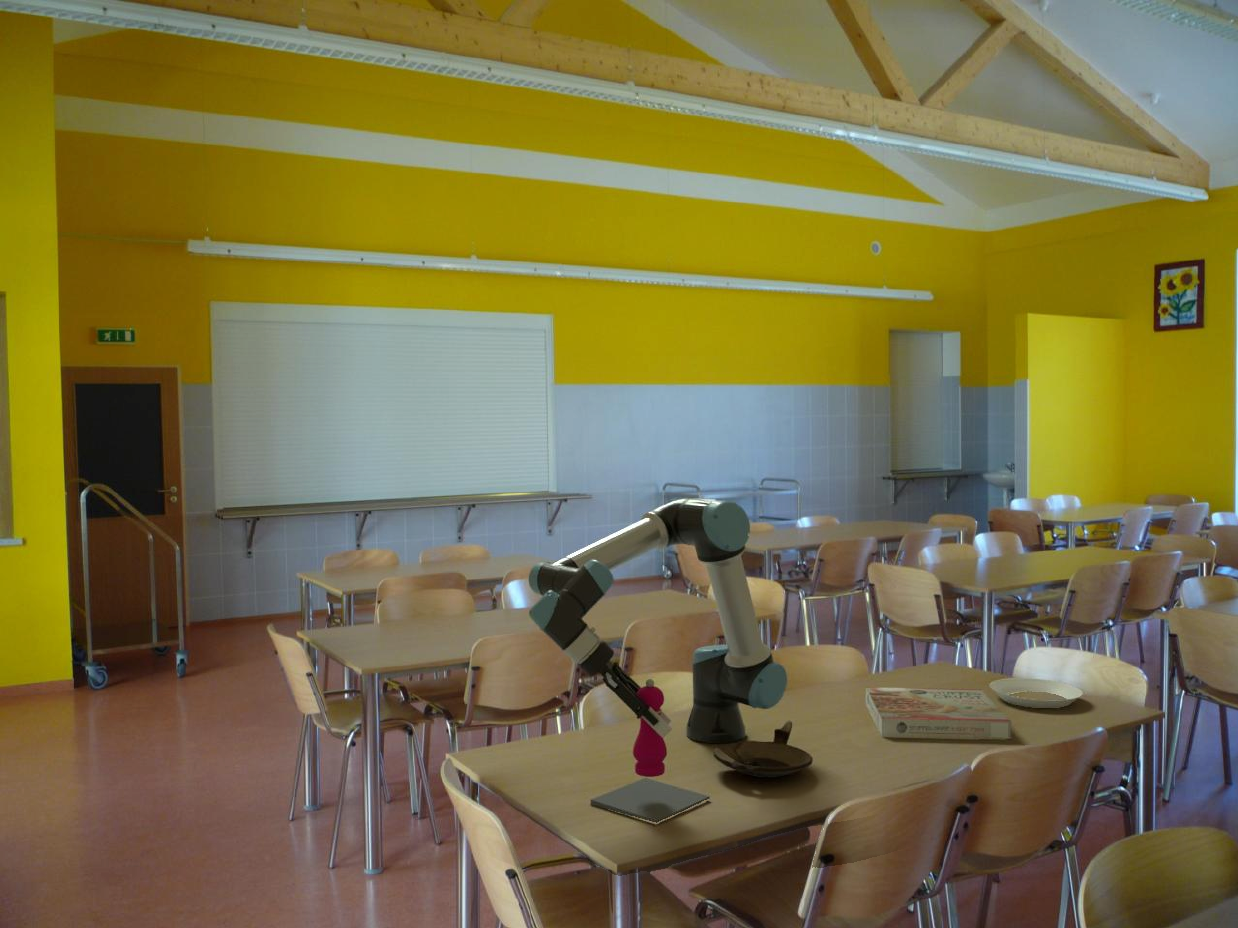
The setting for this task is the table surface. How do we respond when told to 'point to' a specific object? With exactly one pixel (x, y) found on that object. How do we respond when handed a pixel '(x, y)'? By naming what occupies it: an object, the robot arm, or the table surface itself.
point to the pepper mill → (650, 736)
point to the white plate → (1037, 685)
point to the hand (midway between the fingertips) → (667, 728)
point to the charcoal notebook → (649, 800)
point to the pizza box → (936, 713)
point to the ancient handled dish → (767, 756)
